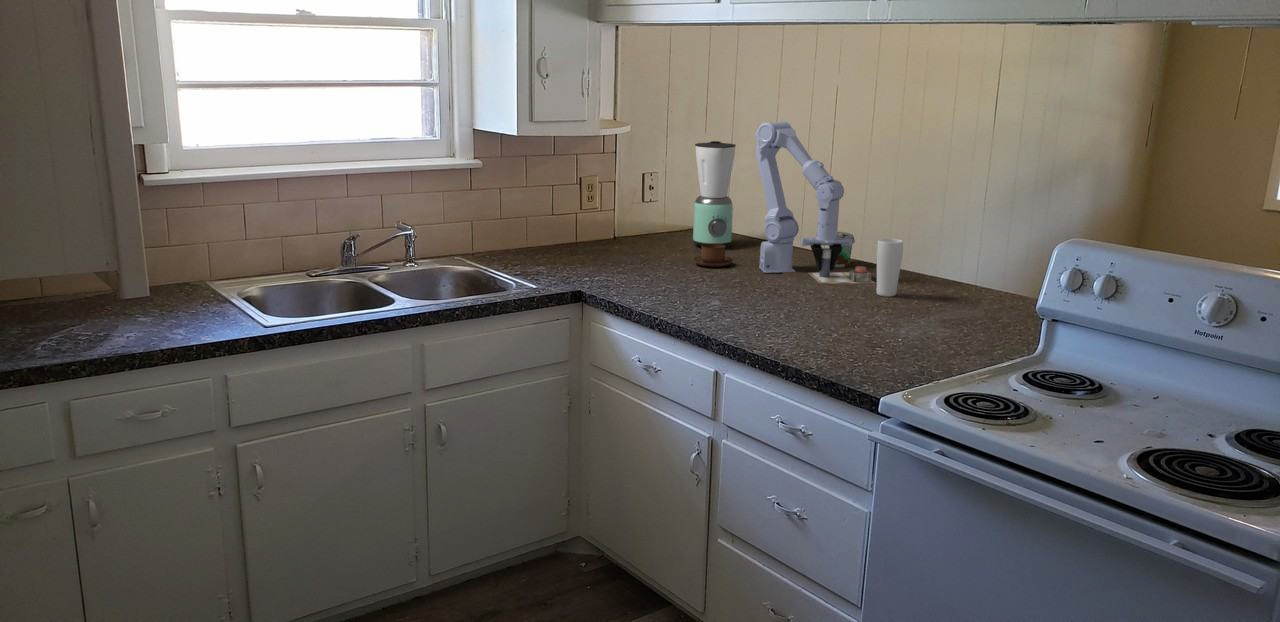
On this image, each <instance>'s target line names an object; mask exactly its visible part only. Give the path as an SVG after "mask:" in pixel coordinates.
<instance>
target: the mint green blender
mask: <svg viewBox="0 0 1280 622" xmlns="http://www.w3.org/2000/svg"><path fill="white" fill-rule="evenodd" d="M694 146H695V161H696V167H697V168H696V169H697V176H698V177H697V178H698V185H699V193H700V195H698V196H697V197H696V199H695V200H694V204H693V224H692V225H693V229H692V243H693V244H695V245H696V246H700V249H701V248H702V245H703V244H722V245H725V246H726V248H728V249H729V248H730V245H731V244H732V241H733V211H734V209H733V201H732V199H731V198H730V197H729V196H728V192H729V187H730V182H731V177H732V170H733V166H734V161H735V152H736V147H737V144H734V143H728V142H726V143H725V142H721V141H719V140H718V141H716V140H713V141H712V140H711V141H710V142H709V141H708V142H698V143H695V144H694Z"/></svg>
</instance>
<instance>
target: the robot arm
mask: <svg viewBox="0 0 1280 622" xmlns="http://www.w3.org/2000/svg"><path fill="white" fill-rule="evenodd" d="M754 134H755V140H756V146H755V157H756V162H757V167H758V171H759V176H760V180H761V184H762V189H763V193H764V197H765V201H766V208H767V210H768V212H767V213H766V214H765V217H764V228H763V229H764V231H763V232H764V235H765V238H766V239H767V241H762V242H761V244H760V248H759V249H760V252H759V266H758V267H759V269H760V270H761V271H763V273H764V274H765V273H766V274H768V273H769V274H771V273H772V274H776V273H777V274H779V273H780V274H782V273H783V272H786V273H787V272H791V273H792V272H796V270H795V269H794V268H793V255H794V252H793V251H794V249H793V248H794V241H795V238H796V236H797V235H798V234H799V230H800V227H799V223H798V221H797V220H796V219H795V217H794V213H793V212H792V210H790V209H789V208H788V206H787V202H786V198H785V195H784V194H785V193H784V190H783V184H782V181H781V176H780V172H779V167H778V163H777V159H776V155H777V154H778V152H779V151H780V150H781V148H783V149H786V151H788V152H789V153H790V154H791V156H792V157H793V158H794V159H795V160H796V162H797V163H798V164H799V165H800V166H801V167H802V175H803V176H804V177H805V179H806V180H807V181H808V183H809V184H810V185H811V186H812V188H813V189H814V192H815V193H814V195H815V198H816V199H817V206H818V211H817V213H818V214H817V229H816V236H815V237H802V238H801V239H800V245H801V246H802V247H806V246H810V249H811V251H812V254H813V256H814V261H815V265H816V267H815V268H816V270H817V271H819V272H820V271H821V260H822V253H823V249H822V248H823V247H822V246H829V247H828V248H829V249H832V252H831V265H830V272H832V271H834V268H835V266H834V265H835V262H836V260H837V257H838V256H839V254H840V252H841V251H842V247H841V245H848V246H852V247H853V244H852V239H851V238H837V232H838V227H839V226H838V225H839V215H840V214H839V213H840V211H839V210H840V200H841V199H843V197H844V194H845V188H844V185H842V182H841V181H840V180H837V179H836V180H835V179H834V177H833V176H832V175H830V174H829V172H828V171H827V170H826V168H825V167H824V166H825V165H824V163H823V162H820V161H819V160H813V159H812V157H811V155H810V154H809V153H808V151H807V149H806V148H805V146H804V145H803V144H802V142H801V141H800V139H799V138H798V136H797V133H796V130H795V129H794V128H793V127H792V126H791V124H790V123H789V122H788V121H785V120H783V121H775V122H774V121H773V122H768V121H767V122H766V121H765V122H763V123H761V124H760V125H759V126H758V128H757V130H756V132H755V133H754Z"/></svg>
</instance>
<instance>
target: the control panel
mask: <svg viewBox="0 0 1280 622" xmlns="http://www.w3.org/2000/svg"><path fill="white" fill-rule="evenodd" d="M807 274H808V275H809V276H811V277H812V278H813V279H814V280H815V281H817V282H818V283H819V284H822V285H824V284H876V282H875V281H873V280H872V273H871V272H869V271H868V270H866V273H855V269H854V270H852V269H850V270H849V272H846V271H845V272H843V271H841V272H838V271H837V272H836V271H835V272H830V277H820V276H819V272H807Z"/></svg>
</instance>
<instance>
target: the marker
mask: <svg viewBox="0 0 1280 622" xmlns="http://www.w3.org/2000/svg"><path fill="white" fill-rule="evenodd" d="M822 249H823V253H822V260H821V271H819V272H818V273H819V276H820V277H830V273H831V270H830V265H831V252H832V249H829V247H822Z"/></svg>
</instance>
